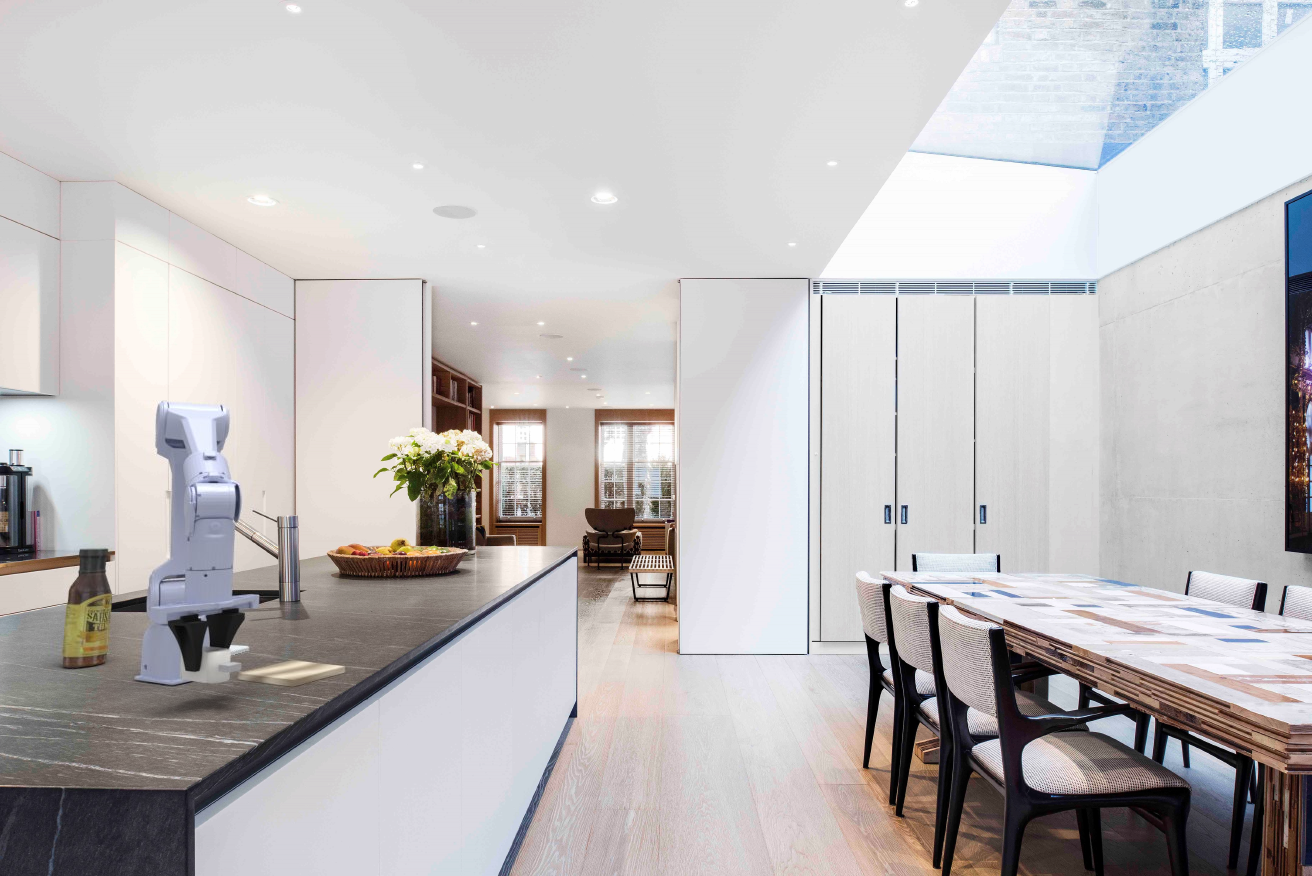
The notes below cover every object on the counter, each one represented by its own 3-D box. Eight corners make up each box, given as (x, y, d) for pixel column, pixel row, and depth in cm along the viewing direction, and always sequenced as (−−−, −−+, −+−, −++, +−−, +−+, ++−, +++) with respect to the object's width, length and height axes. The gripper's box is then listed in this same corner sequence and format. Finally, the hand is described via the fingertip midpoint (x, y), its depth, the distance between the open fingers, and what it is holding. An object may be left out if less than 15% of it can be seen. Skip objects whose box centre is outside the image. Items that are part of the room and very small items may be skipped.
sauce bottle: (88, 669, 124) (95, 549, 125) (51, 669, 124) (59, 549, 125) (117, 660, 130) (123, 547, 132) (82, 660, 130) (89, 547, 132)
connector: (174, 678, 102) (176, 649, 103) (195, 673, 105) (197, 645, 105) (224, 685, 98) (225, 655, 99) (244, 680, 101) (245, 650, 101)
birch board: (238, 679, 116) (238, 672, 116) (291, 666, 125) (292, 660, 125) (292, 686, 111) (293, 680, 112) (344, 672, 121) (345, 666, 121)
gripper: (177, 574, 95) (171, 682, 94) (275, 565, 108) (271, 660, 107) (142, 572, 98) (136, 677, 97) (241, 563, 111) (237, 656, 110)
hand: (204, 668), depth 102 cm, fingers closed on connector, 3 cm apart
